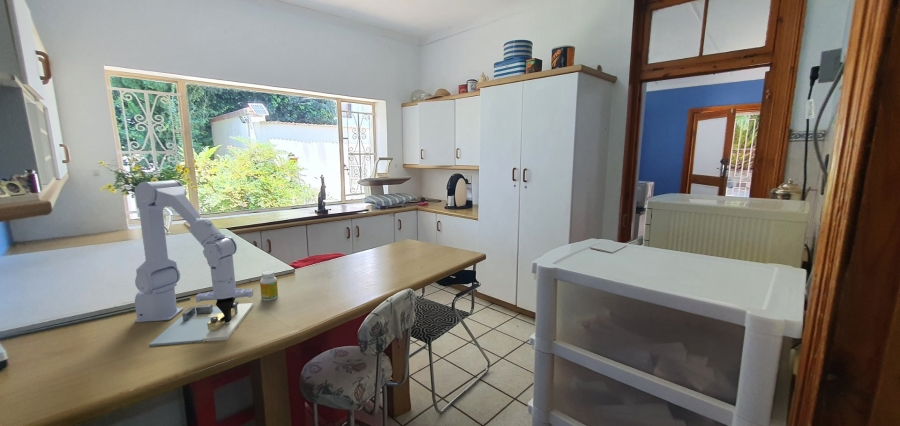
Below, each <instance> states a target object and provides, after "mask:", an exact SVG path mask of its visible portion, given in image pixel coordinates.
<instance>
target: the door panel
mask: <svg viewBox="0 0 900 426" xmlns="http://www.w3.org/2000/svg"><path fill="white" fill-rule="evenodd" d="M253 307H255V306H254V303H253V302H250V303H247V302H246V303H238V305H237V309H238V313H237V314H235V315H233V316H232V319H231V321H230V322H227V323H224V324H223V325H222V326H220V327H219V328H218V329H217V330H208V326H207V323H208V322H210V321H211V320H210V319H211V318H212V317H216V316H217V315H219V314H220V313H221V312H222V311H221V310H220V309H219V308H218V307H217V306H216V305H215V306H213V312H212V313H211V314H199V315H196V314H195V315H194V316H193V317H191V318H190V319H189V320H188V321H183V316H182V315H181V316H180V317H179V318H177V319H176V320H175V321H174V322H173V323H172V324H171V325H169V327H167V328H166V329H165V330H164V331H163V332H161V333H160V334H159V335H158V336H157V337H156V338H155V339H153V340H152V341H151V342H150V343H149V347H156V346H168V345H180V344H181V345H182V344H192V342H194V343H205V341H207V342H215V341H216V342H217V341H228V340H229V338H231V335H233V333H234V332H235V331H236V329H237V328H238V327H239V325H240V324H241V323H242V322H243V320H244V319H245V317H247V315H248V314H249V313H250V311H251V310H252V309H253ZM195 311H196V307H195ZM227 339H228V340H227Z"/></svg>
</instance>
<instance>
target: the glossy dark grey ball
mask: <svg viewBox="0 0 900 426" xmlns="http://www.w3.org/2000/svg"><path fill="white" fill-rule="evenodd" d="M238 304H239V301H236V300H234V303H233V306H232V308H234V309H235V314H237V313H238V309H237V305H238Z"/></svg>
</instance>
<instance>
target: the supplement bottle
mask: <svg viewBox="0 0 900 426" xmlns="http://www.w3.org/2000/svg"><path fill="white" fill-rule="evenodd" d="M259 284H260V286H259V287H260V296H261V297H260V298H261V300H262V301H264V302H265V301H273V300H276V299H277V298H278V297H279V293H278V292H279V291H278V279H277V277H276V276H275V271H274V270H266V271H263V272H261V279H260V280H259Z"/></svg>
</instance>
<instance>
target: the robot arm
mask: <svg viewBox="0 0 900 426" xmlns="http://www.w3.org/2000/svg"><path fill="white" fill-rule="evenodd" d="M134 195H135V202H136V207H137V209H138V212H139V219H140V227H141V235H142V240H143V241H142V242H143V243H142V244H143V251H144V256H145V261H144V262H143V263H141V265H139V266H138V267H137V268H136V271H135V272H136V275H135V276H136V277H135V280H134V284H135V287H136V288H137V290H138V292H137V293H136V294H135V297H134V307H135V315H136V320H135V323H142V322H143V323H144V322H157V321H158V322H159V321H169V320H172V319H173V318H174V317H175V316H177V315H178V314H179V313H180V312H182V311H183V310H184V307H182V306H181V307H178V306H177V298H176V290H175V287H176V286H177V285H178V282H179V281H180V280H181V279H180V278H181V273H180V270H179V267H178V266H177V265H178V264H177V261H175V260H174V259H170V258H169V256H168V247H167V238H166V237H167V236H166V230H165V221H164V213H163V210H164V209H165V208H169V207H170V208H172V210H174V211H175V213H177V214H178V215H179V216H180V217H181V218H182V219H183V220H184V221H185V222H187V224H189V229H188V230H189V232H190V234H191V235H192V236H193V237H194V238H195V239H196V240H197V241H198V242H199V244H200V245H201V246H202V248H203V250H202V253H203V255H204V257H205V259H206V261H207V265H208V266H209V269H210V277H211V282H212V291H208V292H202V293H198V294H197V295H195V302H196V303H201V302H205V301H215V300H216V303H215V307H216V306H217V307H218V308H219V309H220V310H221V311H222V313H223V315H224V320H225V323H227V322H230V321H231V319H232V316H231V309H232V306H233V303H234V301H236V299H239V298H247V297H248V298H252V297H253V296H254V289H253V288H237V283H236V277H235V275H236V274H235V265H234V256H233V255H235V254H236V253H237V248H238V246H237V243H236V241H235V240H234V238H232V237H231V236H229V235H226V234H224V233H223V234H222V232H220V230H219V229H218V228H217V227H216V226H215V224H214V223H213V222H212V220H210V219H208V218H204V217H202V216H201V215H200V213H199V212H198V211H197V209H196V208H195V207H194V206H193V203H192V202H191V201H190V200H189V198H188V197H187V188H186V187H184V186H183V184H182V182H181V181H179V180H178V179H170V180H155V181H154V180H153V181H141V182H139V183H138V184H137V185H136V186H135V187H134Z"/></svg>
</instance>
